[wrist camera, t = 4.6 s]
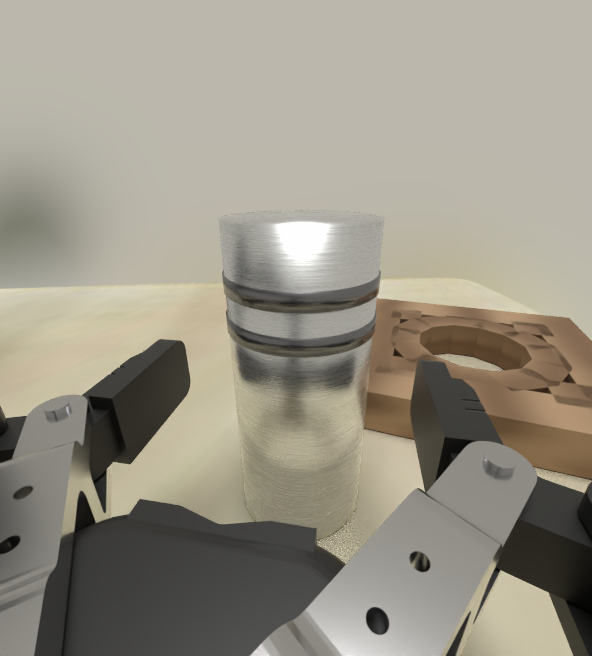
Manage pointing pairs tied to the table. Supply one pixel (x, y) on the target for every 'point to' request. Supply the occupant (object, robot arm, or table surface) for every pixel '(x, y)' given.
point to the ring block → (491, 376)
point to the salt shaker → (301, 357)
